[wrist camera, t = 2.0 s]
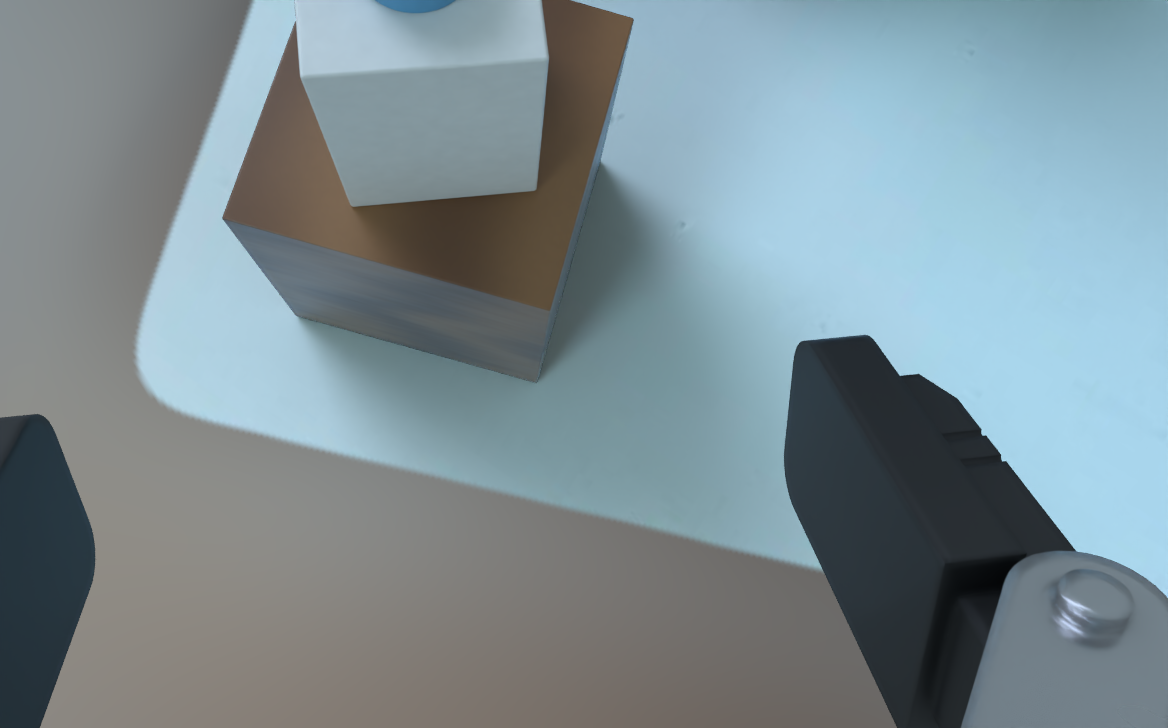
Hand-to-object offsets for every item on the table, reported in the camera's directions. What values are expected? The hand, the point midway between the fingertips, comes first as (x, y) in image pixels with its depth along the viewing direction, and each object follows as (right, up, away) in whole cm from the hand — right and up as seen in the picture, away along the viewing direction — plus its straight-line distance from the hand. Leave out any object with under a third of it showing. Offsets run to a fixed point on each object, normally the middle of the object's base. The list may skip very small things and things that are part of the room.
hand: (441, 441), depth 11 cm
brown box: (-3, +6, +27) cm, 27 cm away
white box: (-2, +8, +17) cm, 19 cm away
